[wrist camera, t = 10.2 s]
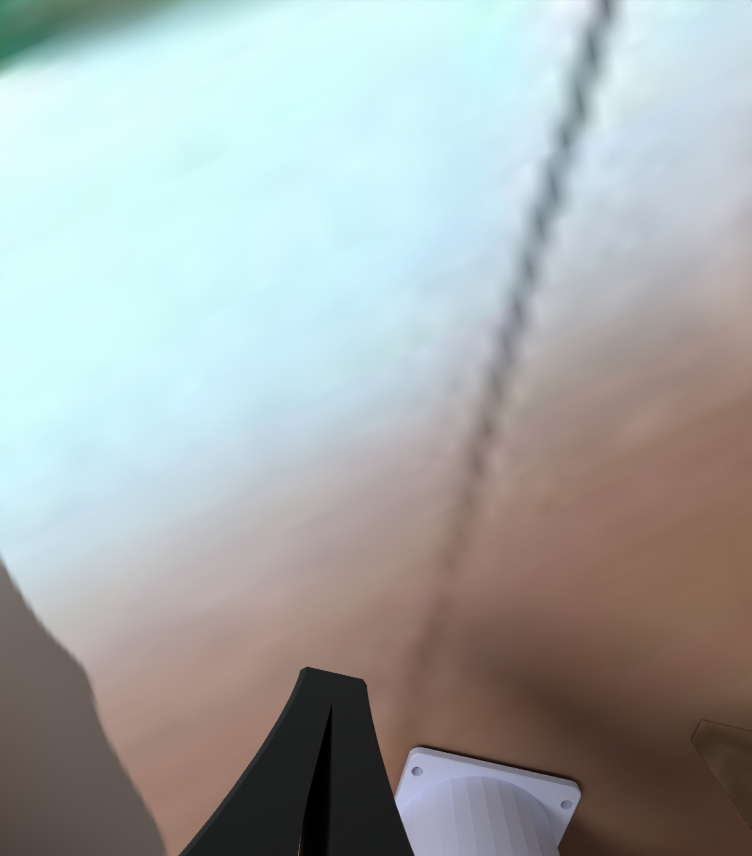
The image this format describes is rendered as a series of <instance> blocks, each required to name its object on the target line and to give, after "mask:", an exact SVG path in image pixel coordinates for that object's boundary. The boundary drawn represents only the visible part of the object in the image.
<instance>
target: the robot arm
mask: <svg viewBox="0 0 752 856" xmlns="http://www.w3.org/2000/svg"><path fill="white" fill-rule="evenodd" d="M415 767H419V768H415ZM580 798H581V792H580V790H579V787H578V785H577V784H576V783H575V782H573V781H571V780H566V779H562V778H557V777H553V776H548V775H544V774H539V773H535V772H530V771H526V770H521V769H517V768H513V767H508V766H504V765H499V764H495V763H490V762H486V761H481V760H477V759H472V758H468V757H463V756H459V755H454V754H450V753H445V752H441V751H436V750H432V749H428V748H423V747H417V748H414V749H412V750H411V751H410V753H409V755H408V758H407V761H406V764H405V767H404V770H403V773H402V776H401V779H400V782H399V785H398V788H397V791H396V794H395V797H394V796H393V793H392V790H391V787H390V783H389V780H388V777H387V773H386V770H385V766H384V763H383V759H382V756H381V752H380V749H379V745H378V741H377V737H376V733H375V728H374V724H373V720H372V715H371V710H370V705H369V699H368V693H367V685H366V683H365V682H364V680H363V679H359V678H354V677H350V676H346V675H341V674H337V673H332V672H328V671H324V670H319V669H315V668H311V667H305V668H303V669H302V670H300V674H299V677H298V680H297V682H296V685H295V687H294V689H293V692H292V694H291V696H290V698H289V700H288V702H287V704H286V706H285V707H284V709H283V711H282V713H281V715H280V717H279V718H278V720H277V722H276V723H275V725H274V727H273V728H272V730H271V731H270V733H269V735H268V736H267V738H266V740H265V741H264V743H263V744H262V746H261V748H260V749H259V751H258V752H257V754H256V755H255V757H254V758H253V760H252V761H251V762H250V764H249V765H248V767H247V768H246V770H245V771H244V772H243V774H242V775H241V777H240V778H239V780H238V781H237V782H236V784H235V785H234V787H233V788H232V789H231V791H230V792H229V794H228V795H227V796H226V798H225V799H224V800H223V802H222V803H221V804H220V805H219V807H218V808H217V809H216V811H215V812H214V813H213V815H212V816H211V817H210V818H209V820H208V821H207V822H206V823H205V825H204V826H203V827H202V828H201V829H200V831H199V832H198V833H197V834H196V836H195V837H194V838H193V839H192V841H191V842H190V843H189V844H188V845H187V847H186V848H185V849H184V850H183V851H182V852H181V853H180V855H179V856H298V850H299V856H560V854H559V851H558V848H557V847H558V845H559V843H560V841H561V839H562V837H563V834H564V832H565V830H566V828H567V826H568V824H569V822H570V819H571V817H572V815H573V813H574V811H575V809H576V806H577V804H578V802H579V800H580ZM300 837H301V839H300ZM299 843H300V849H299Z"/></svg>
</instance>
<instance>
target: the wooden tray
mask: <svg viewBox="0 0 752 856" xmlns="http://www.w3.org/2000/svg"><path fill="white" fill-rule="evenodd" d="M691 742H692V743H693V745H694V746H695V748H696V749H697V751H698V752H699V754H700V755H701V757H702V758H703V759H704V761H705V762H706V764H707V765H708V767H709V768H710V770H711V771H712V773H713V774H714V775H715V777H716V778H717V780H718V781H719V783H720V784H721V786H722V787H723V788H724V790H725V791H726V793H727V794H728V796H729V797H730V799H731V800H732V802H733V803H734V804H735V806H736V807H737V809H738V810H739V812H740V813H741V815H742V816H743V818H744V819H745V820H746V822H747V823H748V825H749V826H750V828H751V829H752V731H748V730H744V729H739V728H735V727H731V726H726V725H722V724H718V723H713V722H709V721H705V720H701V722H700V724H699V726H698V728H697V730H696V732H695V734H694V736H693V738H692V740H691Z"/></svg>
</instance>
